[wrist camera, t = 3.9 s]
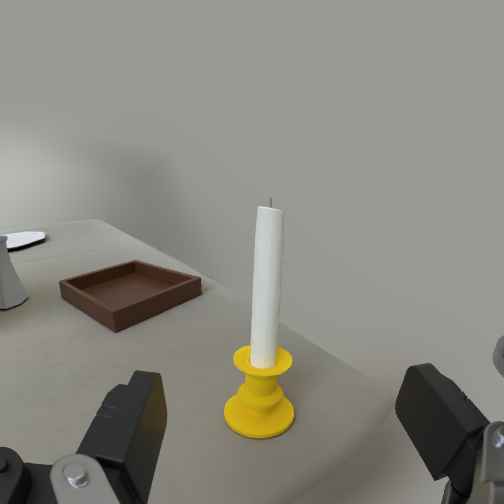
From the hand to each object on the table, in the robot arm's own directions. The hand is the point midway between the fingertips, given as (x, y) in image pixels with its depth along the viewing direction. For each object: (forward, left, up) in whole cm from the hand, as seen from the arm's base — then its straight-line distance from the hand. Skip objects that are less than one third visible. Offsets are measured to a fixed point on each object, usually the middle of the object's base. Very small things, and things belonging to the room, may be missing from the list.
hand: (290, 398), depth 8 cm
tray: (-17, -32, -10) cm, 38 cm away
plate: (-13, -97, -10) cm, 99 cm away
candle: (-8, -5, -10) cm, 14 cm away
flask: (-1, -45, -10) cm, 46 cm away
